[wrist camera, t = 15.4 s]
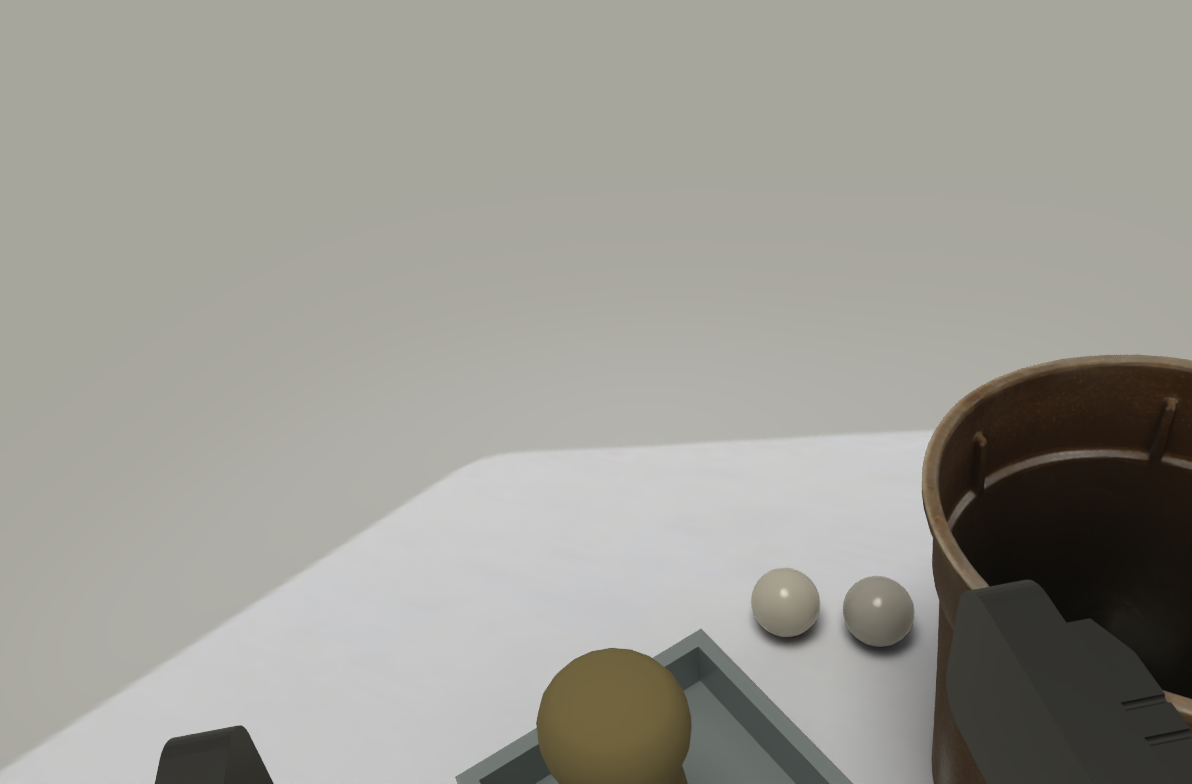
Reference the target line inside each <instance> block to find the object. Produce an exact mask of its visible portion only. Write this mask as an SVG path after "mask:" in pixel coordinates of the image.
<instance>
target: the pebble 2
mask: <svg viewBox="0 0 1192 784" xmlns="http://www.w3.org/2000/svg"><path fill="white" fill-rule="evenodd" d="M843 616H844V620H845V623H846V625H847V627H848V629H849V630H850V632H851V633H852V634H853V635H854V636H855V637H856V638H857V639H859V640H860V641H862V642H864V643H866V644H868V645H872V646H877V647H884V646H889V645H893V644H895V643H897V642H899V641H900V640H902V639H903V638H904V637H905V636H906V635H907V634H908V632H909V631H910V629H911V627H912V625H913V621H914V605H913V602H912V599H911V597H910V595H909V594H908V592H907V591H906V590H905V588H904V587H902V586H901V585H900V584H899V583H898V582H896V581H894V580H892V579H890V578H887V577H882V576H872V577H867V578H864V579H862V580H860V581H858V582H857V583H855V584H854V585H853V586H852V587H851V588H850V589H849V591H848V592H847V594H846V596H845V599H844V603H843Z"/></svg>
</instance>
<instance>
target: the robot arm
mask: <svg viewBox="0 0 1192 784" xmlns="http://www.w3.org/2000/svg"><path fill="white" fill-rule="evenodd" d="M946 685H947V693H948V698H949V703H950V707H951V710H952V713H953V716H954V719H955V721H956V724H957V726H958V728H959V730H960V732H961V734H962V736H963V738H964V740H965V742H966V744H967V746H968V748H969V750H970V752H971V754H972V756H973V758H974V760H975V762H976V763H977V765H978V767H979V769H980V771H981V773H982V775H983V777H984V779H985V781H986V783H987V784H1192V735H1191V733H1190V727H1189V726H1188V725H1187V723H1186V722H1185V720H1184V719H1183V718H1182V716H1181V715H1180V714H1179V712H1178V711H1177V709H1176V708H1175V707H1174V705H1173V704H1172V703H1171V702H1167V700H1166V698H1165V693H1164V692H1163V690H1162V689H1161V687H1160V686H1159V685H1158V683H1157V682H1156V680H1155V679H1154V678H1153V676H1152V675H1151V674H1150V672H1149V671H1148V669H1147V668H1146V667H1145V665H1144V664H1143V663H1142V661H1141V660H1140V658H1139V657H1138V656H1137V654H1136V653H1135V652H1134V651H1133V650H1132V649H1130V648H1129V647H1128V646H1126V645H1125V644H1124V643H1122V642H1121V641H1120V640H1118V639H1117V638H1116V637H1114V636H1113V635H1112V634H1110V633H1109V632H1108V631H1106V630H1105V629H1104V628H1102V627H1101V626H1100V625H1098V624H1097V623H1096V622H1094V621H1093V620H1092V619H1090V618H1089V619H1084V620H1078V621H1073V622H1068V623H1066V621H1065V620H1064V619H1063V617H1062V616H1061V614H1060V613H1059V611H1058V610H1057V608H1056V607H1055V605H1054V604H1053V602H1052V601H1051V599H1050V598H1049V596H1048V595H1047V594H1046V592H1045V591H1044V590H1043V588H1042V587H1041V586H1040V585H1039V584H1037V583H1036V582H1034V581H1032V580H1022V581H1016V582H1011V583H1006V584H1001V585H995V586H990V587H985V588H979V589H974V590H969V591H965V592H964V593H963V594H962V595H961V597H960V600H959V604H958V610H957V615H956V621H955V627H954V632H953V638H952V644H951V649H950V655H949V661H948V666H947V673H946ZM155 784H273V782H272V779H271V777H270V775H269V773H268V771H267V769H266V767H265V765H264V763H263V761H262V759H261V757H260V755H259V753H258V751H257V749H256V747H255V745H254V743H253V741H252V739H251V737H250V735H249V733H248V732H247V730H246V729H245V728H244V727H243V726H234V727H228V728H223V729H218V730H213V731H207V732H202V733H197V734H191V735H186V736H181V737H175V738H172V739H170V740H168V742H167V743H166V744H165V746H164V748H163V751H162V753H161V757H160V761H159V766H158V771H157V776H156V781H155Z"/></svg>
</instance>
